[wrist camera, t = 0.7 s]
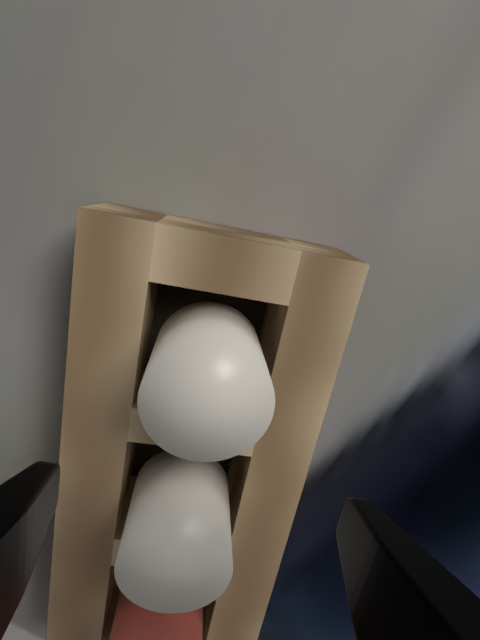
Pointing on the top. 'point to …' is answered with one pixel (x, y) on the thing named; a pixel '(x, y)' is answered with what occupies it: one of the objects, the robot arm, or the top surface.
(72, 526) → the beech block
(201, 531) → the plug
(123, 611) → the red plug
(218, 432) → the plug
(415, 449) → the top surface
